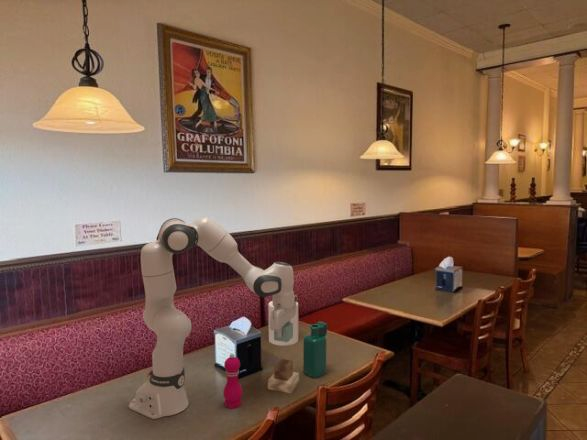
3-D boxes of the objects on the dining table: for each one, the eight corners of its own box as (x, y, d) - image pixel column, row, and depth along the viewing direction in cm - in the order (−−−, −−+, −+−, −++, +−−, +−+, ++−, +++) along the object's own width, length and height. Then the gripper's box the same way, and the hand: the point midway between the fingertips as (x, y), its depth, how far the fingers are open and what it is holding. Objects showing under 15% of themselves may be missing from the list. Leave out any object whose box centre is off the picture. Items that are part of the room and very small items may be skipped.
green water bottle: (314, 379, 179) (314, 330, 177) (301, 372, 185) (301, 324, 183) (330, 372, 185) (330, 324, 183) (317, 365, 192) (317, 319, 189)
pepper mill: (238, 409, 155) (237, 358, 153) (220, 407, 157) (219, 357, 155) (244, 399, 162) (244, 350, 160) (227, 397, 164) (226, 349, 162)
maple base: (268, 388, 171) (267, 379, 170) (277, 378, 180) (277, 369, 179) (290, 393, 167) (290, 383, 167) (299, 382, 176) (299, 373, 176)
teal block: (274, 340, 170) (273, 326, 169) (279, 334, 175) (279, 321, 175) (287, 342, 168) (287, 327, 167) (292, 336, 173) (292, 322, 173)
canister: (302, 336, 228) (302, 300, 226) (292, 347, 213) (291, 309, 211) (275, 332, 233) (275, 298, 231) (263, 343, 218) (263, 306, 216)
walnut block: (274, 378, 171) (274, 364, 171) (279, 372, 177) (279, 358, 176) (287, 380, 169) (287, 366, 169) (292, 374, 175) (292, 360, 174)
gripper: (280, 309, 159) (280, 343, 160) (298, 295, 178) (299, 326, 179) (265, 307, 161) (266, 341, 163) (285, 293, 180) (285, 324, 182)
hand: (283, 333), depth 171 cm, fingers closed on teal block, 6 cm apart
